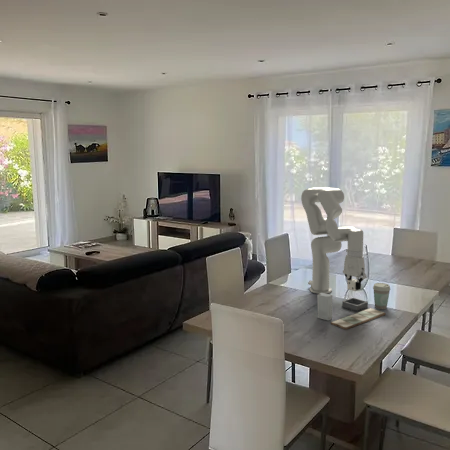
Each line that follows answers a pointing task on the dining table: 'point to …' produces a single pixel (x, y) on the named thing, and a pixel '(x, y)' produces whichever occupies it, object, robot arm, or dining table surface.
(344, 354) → the dining table surface
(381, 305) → the coffee cup
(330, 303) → the skincare box
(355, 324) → the track
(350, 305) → the dice tray
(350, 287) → the die
